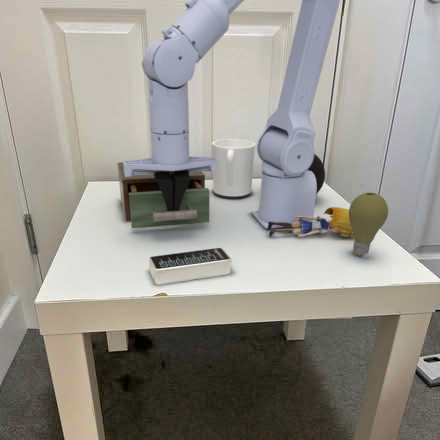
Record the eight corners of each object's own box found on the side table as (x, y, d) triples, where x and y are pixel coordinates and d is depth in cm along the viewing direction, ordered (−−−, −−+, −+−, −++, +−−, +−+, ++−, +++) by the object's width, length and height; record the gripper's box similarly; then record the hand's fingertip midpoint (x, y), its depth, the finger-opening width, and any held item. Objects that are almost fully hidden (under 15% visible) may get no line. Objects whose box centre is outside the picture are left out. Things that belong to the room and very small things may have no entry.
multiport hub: (149, 270, 65) (148, 256, 64) (221, 260, 68) (221, 246, 67) (156, 285, 61) (155, 270, 60) (231, 273, 65) (232, 259, 64)
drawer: (215, 232, 75) (216, 198, 72) (134, 239, 72) (131, 204, 69) (196, 202, 88) (196, 173, 85) (126, 207, 85) (123, 177, 82)
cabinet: (204, 215, 85) (205, 175, 81) (125, 221, 81) (122, 179, 78) (192, 195, 94) (191, 159, 91) (121, 200, 91) (117, 162, 87)
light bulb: (358, 266, 68) (371, 201, 63) (334, 251, 72) (344, 190, 67) (386, 259, 70) (400, 196, 65) (360, 245, 74) (372, 185, 69)
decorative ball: (325, 208, 89) (332, 157, 84) (274, 207, 89) (278, 155, 84) (317, 193, 98) (323, 145, 93) (271, 191, 98) (274, 144, 93)
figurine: (269, 245, 76) (357, 241, 77) (272, 219, 73) (364, 215, 73) (266, 229, 80) (350, 225, 80) (268, 203, 76) (356, 200, 76)
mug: (214, 185, 101) (215, 137, 96) (254, 188, 100) (257, 139, 95) (206, 201, 92) (206, 149, 86) (250, 204, 91) (253, 151, 85)
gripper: (210, 124, 73) (209, 205, 80) (119, 127, 70) (126, 211, 77) (221, 133, 67) (219, 220, 74) (122, 136, 64) (130, 226, 71)
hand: (172, 216), depth 75 cm, fingers closed, pressing on drawer
